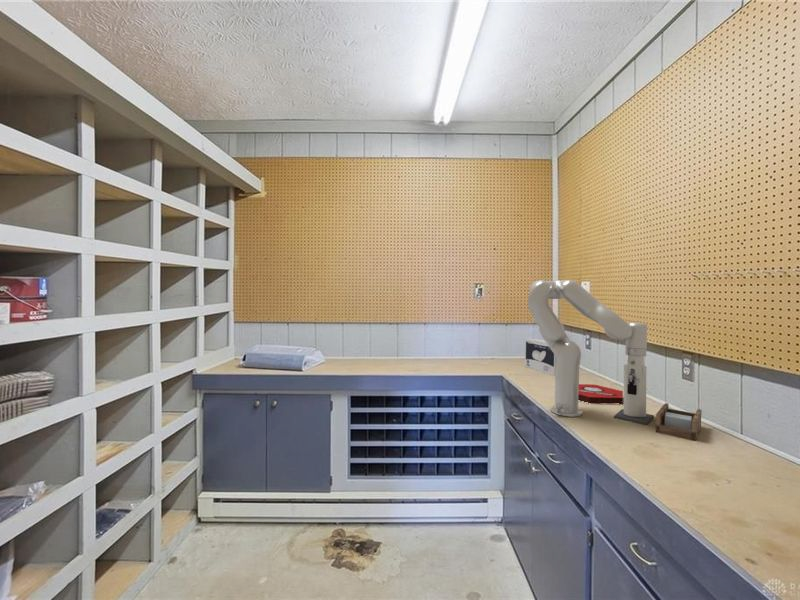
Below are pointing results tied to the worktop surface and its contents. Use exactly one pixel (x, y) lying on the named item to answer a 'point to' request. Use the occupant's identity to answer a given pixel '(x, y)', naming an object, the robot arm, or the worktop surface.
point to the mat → (634, 418)
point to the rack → (677, 431)
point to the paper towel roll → (635, 396)
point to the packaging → (539, 356)
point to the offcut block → (678, 421)
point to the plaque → (599, 394)
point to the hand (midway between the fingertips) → (634, 392)
